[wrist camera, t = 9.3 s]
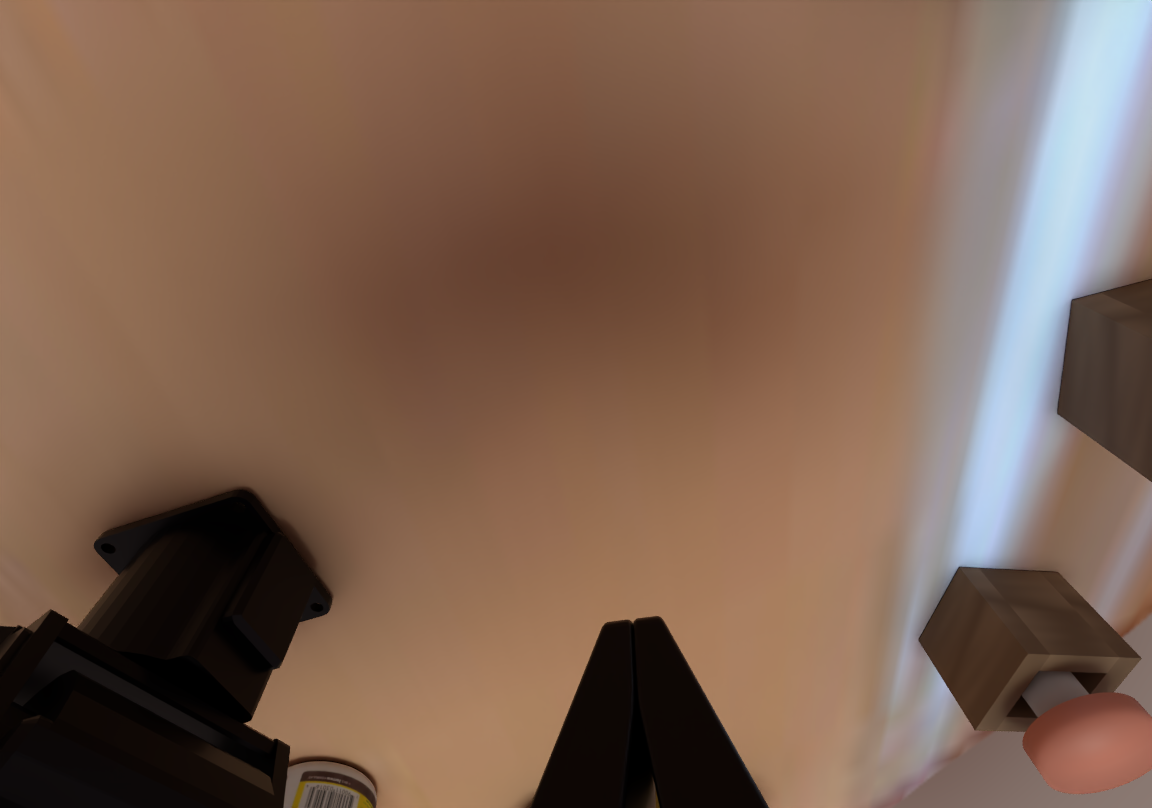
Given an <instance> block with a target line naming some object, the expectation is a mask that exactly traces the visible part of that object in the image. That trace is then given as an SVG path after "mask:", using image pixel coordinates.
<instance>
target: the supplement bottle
mask: <svg viewBox="0 0 1152 808" xmlns="http://www.w3.org/2000/svg"><path fill="white" fill-rule="evenodd" d="M376 802H377V796H376V791H375V788H374V786H373V784H372V783H371V781H370V780H369V779H368V778H367V777H366V776H365V775H364V774H362V773H361V772H359V771H358V770H356V769H354V768H352V767H349V766H346V765H343V764H339V763H334V762H326V761H313V762H305V763H300V764H296V765H293V766H291V767H289V768H288V771H287V780H286V789H285V798H284V807H283V808H376Z"/></svg>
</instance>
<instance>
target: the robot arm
mask: <svg viewBox="0 0 1152 808" xmlns="http://www.w3.org/2000/svg"><path fill="white" fill-rule="evenodd" d="M237 502H240V503H242V504H244V505H245V506H242V505H239V504H238V503H237ZM94 549H95V550H96V552H97V553H98V554H99V555H100V556H101V557H102V558H103V559H104V560H105V561H106V562H107V563H108V564H109V565H110V566H111V567H112V568H113V569H114V570H115V571H116V572H117V573H118V574H119V576H118V577H117V578H116V579H115V581H114V582H113V583H112V584H111V586H110V587H109V588H108V589H107V591H106V592H105V593H104V594H103V596H102V597H101V598H100V600H99V601H98V602H97V603H96V605H95V606H94V607H93V608H92V610H91V611H90V612H89V613H88V615H87V616H86V617H85V619H84V620H83V621H82V622H81V624H80V625H79V626H78V627H77V628H76V627H74V626H72V625H70V624H69V623H67V621H68V620H69V619H67V618H65V617H64V616H62V615H60V614H58V613H57V612H55V611H53V610H49V611H48V612H47V613H45V614H44V615H43V616H42V617H40V618H39V619H38V620H36V621H35V622H34V623H32V624H31V625H30V626H29V627H27V628H25V627H24V628H23V627H21V626H20V625H18V626H17V627H6V626H0V808H283V807H284V798H285V789H286V780H287V771H288V763H289V754H290V746H289V745H287V744H285V743H283V742H282V741H280V740H278V739H274V740H272V739H270V738H268V737H267V736H265V735H263V734H261V733H260V732H258V731H256V730H254V729H253V728H251V727H249V726H247V725H246V724H244V723H246V722H249V721H250V720H251V719H252V717H253V715H254V712H255V710H256V708H257V705H258V703H259V701H260V698H261V696H262V694H263V691H264V689H265V687H266V684H267V682H268V680H269V677H270V675H271V673H272V670H274V669H277V668H279V667H280V666H281V664H282V662H283V660H284V657H285V655H286V652H287V650H288V648H289V645H290V643H291V640H292V638H293V636H294V633H295V631H296V629H297V626H298V624H299V622H302V621H306V620H309V619H313V618H316V617H320V616H323V615H325V614H327V613H328V612H329V610H330V608H331V605H332V598H331V596H330V595H329V593H328V592H327V591H326V589H325V588H324V587H323V585H322V584H321V583H320V582H319V580H318V579H317V578H316V576H315V575H314V574H313V572H312V571H311V570H310V568H309V567H308V566H307V564H306V563H305V562H304V560H303V559H302V558H301V556H300V555H299V554H298V553H297V551H296V550H295V549H294V547H293V546H292V545H291V543H290V542H289V541H288V539H287V538H286V537H285V535H284V534H283V533H282V531H281V530H280V529H279V528H278V526H277V525H276V524H275V522H274V521H273V520H272V518H271V517H270V516H269V514H268V513H267V512H266V510H265V509H264V508H263V506H262V505H261V504H260V502H259V501H258V500H257V499H256V497H255V496H254V495H253V494H252V493H250V492H248V491H245V490H235V491H232V492H229V493H226V494H222V495H219V496H216V497H213V498H210V499H207V500H204V501H200V502H197V503H194V504H191V505H188V506H185V507H182V508H178V509H175V510H172V511H169V512H166V513H163V514H160V515H157V516H153V517H150V518H147V519H144V520H141V521H138V522H135V523H131V524H128V525H125V526H122V527H119V528H116V529H113V530H109V531H106V532H104V533H103V534H101V536H100V537H99V538H98V539H97V540H96V541H95V543H94ZM317 603H319V604H317ZM655 788H656V793H657V797H658V802H659V807H660V808H769V807H768V805H767V803H766V802H765V800H764V798H763V796H762V794H761V793H760V791H759V789H758V787H757V786H756V784H755V782H754V780H753V778H752V777H751V775H750V773H749V771H748V770H747V768H746V766H745V764H744V762H743V761H742V759H741V757H740V755H739V754H738V752H737V750H736V748H735V747H734V745H733V743H732V741H731V739H730V738H729V736H728V734H727V732H726V731H725V729H724V727H723V725H722V723H721V722H720V720H719V718H718V716H717V715H716V713H715V711H714V709H713V707H712V706H711V704H710V702H709V700H708V699H707V697H706V695H705V693H704V691H703V690H702V688H701V686H700V684H699V683H698V681H697V679H696V677H695V675H694V674H693V672H692V670H691V668H690V667H689V665H688V663H687V661H686V659H685V658H684V656H683V654H682V652H681V651H680V649H679V647H678V645H677V643H676V642H675V640H674V638H673V636H672V635H671V633H670V631H669V629H668V627H667V626H666V624H665V622H664V621H663V619H662V618H661V617H659V616H653V617H645V618H638V619H636V620H635V621H634V623H632V621H630V620H620V621H612V622H607V623H605V624H604V625H603V627H602V629H601V631H600V634H599V636H598V639H597V641H596V644H595V646H594V649H593V651H592V654H591V656H590V659H589V661H588V664H587V666H586V669H585V671H584V674H583V676H582V679H581V681H580V684H579V686H578V689H577V691H576V694H575V696H574V699H573V701H572V704H571V706H570V709H569V711H568V714H567V716H566V719H565V721H564V724H563V726H562V729H561V731H560V734H559V736H558V739H557V741H556V744H555V746H554V749H553V751H552V754H551V756H550V759H549V761H548V763H547V766H546V768H545V771H544V773H543V776H542V778H541V781H540V783H539V786H538V788H537V791H536V793H535V796H534V798H533V801H532V803H531V806H530V808H656V795H655Z"/></svg>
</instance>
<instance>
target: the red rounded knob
mask: <svg viewBox="0 0 1152 808" xmlns="http://www.w3.org/2000/svg"><path fill="white" fill-rule="evenodd" d="M1022 696H1023V698H1024V699H1025V701H1026V702H1027V703H1028V705H1029V706H1030V707H1031V709H1032V710H1033V711H1034V713H1035V714H1036V716H1037V717H1038V718H1037V719H1036V720H1035V721H1034V722H1033V723H1032V724H1031V725H1030V726H1029V728H1028V729H1027V731H1026V732H1025V734H1024V737H1023V748H1024V750H1025V752H1026V753H1027V755H1028V756H1029V757H1030V759H1031V761H1032V762H1033V764H1034V765H1035V766H1036V768H1037V769H1038V771H1039V772H1040V774H1041V775H1042V776H1043V778H1044V780H1045V781H1046V783H1047V784H1048V785H1049V786H1050V787H1051V788H1053V789H1054V790H1057V791H1060V792H1063V793H1068V794H1088V793H1096V792H1101V791H1105V790H1109V789H1112V788H1115V787H1119V786H1121V785H1124V784H1126V783H1129V782H1131V781H1133V780H1135V779H1137V778H1139V777H1140V776H1142V775H1144V774H1145V773H1147V772H1149V771H1150V770H1151V769H1152V717H1151V716H1150V715H1149V714H1148V713H1147V711H1146V710H1145V709H1144V708H1143V707H1142V706H1141V705H1140V704H1139V703H1138V701H1136V700H1135V699H1134V698H1132V697H1130V696H1128V695H1125V694H1121V693H1113V692H1103V693H1094V694H1089V693H1088V692H1087V691H1086V690H1085V688H1084V687H1083V686H1082V685H1081V684H1080V682H1079V681H1078V680H1077V679H1076V678H1075V676H1074V675H1073V674H1072V673H1071V672H1059V671H1039V672H1038V673H1037V674H1036V676H1035V677H1034V678H1033V680H1032V681H1031V683H1030V684H1029V685H1028V687H1027V688H1026V690H1025V691H1024V692H1023V694H1022Z"/></svg>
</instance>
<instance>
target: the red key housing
mask: <svg viewBox="0 0 1152 808" xmlns="http://www.w3.org/2000/svg"><path fill="white" fill-rule="evenodd" d="M919 642H920V644H921V645H922V647H923V648H924V650H925V651H926V653H927V655H928V656H929V658H930V659H931V661H932V663H933V664H934V666H935V667H936V669H937V671H938V672H939V674H940V675H941V677H942V679H943V680H944V682H945V683H946V685H947V687H948V688H949V690H950V691H951V693H952V694H953V696H954V698H955V699H956V701H957V702H958V704H959V706H960V707H961V709H962V710H963V712H964V714H965V715H966V717H967V718H968V720H969V722H970V723H971V725H972V726H973V728H974V730H979V731H1017V732H1026V731H1027V729H1028V728H1029V726H1030V725H1031V724H1032V723H1033V722H1034V721H1035V720H1036V719H1037V718H1038V717H1037V716H1036V714H1035V713H1034V711H1033V710H1032V709H1031V707H1030V706H1029V705H1028V703H1027V702H1026V701H1025V699H1024V698H1023V696H1022V694H1023V692H1024V691H1025V690H1026V688H1027V687H1028V685H1029V684H1030V683H1031V681H1032V680H1033V678H1034V677H1035V676H1036V674H1037V673H1038V672H1039V671H1059V672H1071V673H1072V674H1073V675H1074V676H1075V678H1076V679H1077V680H1078V681H1079V682H1080V684H1081V685H1082V686H1083V687H1084V688H1085V690H1086V691H1087V692H1088V693H1089V694H1094V693H1103V692H1114V691H1115V690H1116V689H1117V687H1118V686H1119V685H1120V684H1121V683H1122V681H1123V680H1124V679H1125V678H1126V677H1127V675H1128V674H1129V673H1130V672H1131V670H1132V669H1133V668H1134V667H1135V666H1136V664H1137V663H1138V662H1139V661H1140V660H1141V657H1140V656H1139V655H1138V654H1137V653H1136V652H1135V651H1134V650H1133V649H1132V648H1131V647H1130V646H1129V645H1128V644H1127V643H1126V642H1125V641H1124V640H1123V639H1122V638H1121V636H1120V635H1119V634H1118V633H1117V632H1116V631H1115V630H1114V629H1113V628H1112V627H1111V626H1110V625H1109V624H1108V623H1107V622H1106V621H1105V620H1104V619H1103V618H1102V617H1101V616H1100V615H1099V614H1098V613H1097V612H1096V611H1095V610H1094V609H1093V608H1092V607H1091V606H1090V605H1089V604H1088V602H1087V601H1086V600H1085V599H1084V598H1083V597H1082V596H1081V595H1080V594H1079V593H1078V592H1077V591H1076V590H1075V589H1074V588H1073V587H1072V586H1071V585H1070V584H1069V583H1068V582H1067V581H1066V580H1065V579H1064V578H1063V577H1062V576H1061V575H1060V574H1059V573H1058V572H1040V571H1021V570H1002V569H983V568H964V567H959V569H958V571H957V572H956V574H955V576H954V578H953V580H952V581H951V583H950V585H949V587H948V589H947V590H946V592H945V594H944V596H943V598H942V599H941V601H940V603H939V605H938V607H937V608H936V610H935V612H934V614H933V616H932V617H931V619H930V621H929V623H928V625H927V626H926V628H925V630H924V632H923V634H922V635H921V637H920V639H919Z"/></svg>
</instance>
